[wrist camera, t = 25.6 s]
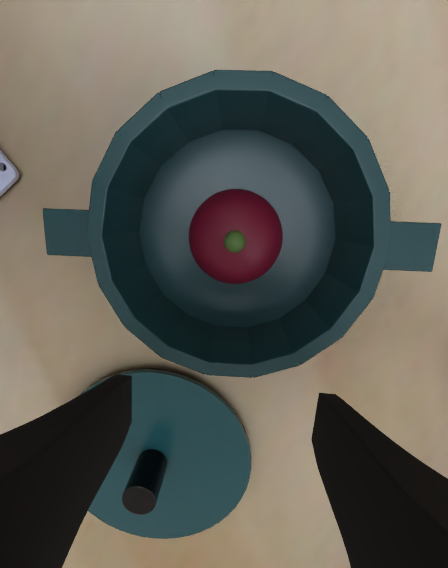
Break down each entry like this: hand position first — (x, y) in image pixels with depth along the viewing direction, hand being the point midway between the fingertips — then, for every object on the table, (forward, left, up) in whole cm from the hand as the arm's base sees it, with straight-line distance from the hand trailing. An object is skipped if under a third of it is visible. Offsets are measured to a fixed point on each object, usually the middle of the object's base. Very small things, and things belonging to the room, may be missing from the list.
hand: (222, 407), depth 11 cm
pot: (-5, +4, -10) cm, 12 cm away
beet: (-5, +4, -10) cm, 12 cm away
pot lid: (+5, -12, -10) cm, 16 cm away
